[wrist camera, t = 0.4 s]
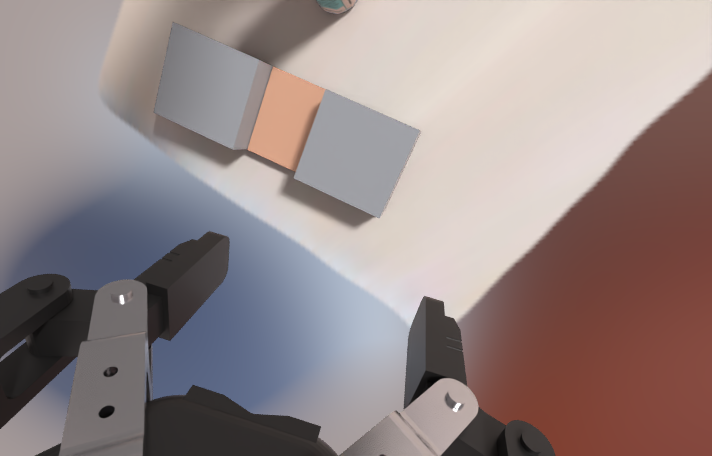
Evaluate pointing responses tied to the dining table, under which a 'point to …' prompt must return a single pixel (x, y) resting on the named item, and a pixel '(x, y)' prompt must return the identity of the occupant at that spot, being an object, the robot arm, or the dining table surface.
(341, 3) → the beer can
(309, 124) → the grey peach bar
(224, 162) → the dining table surface
